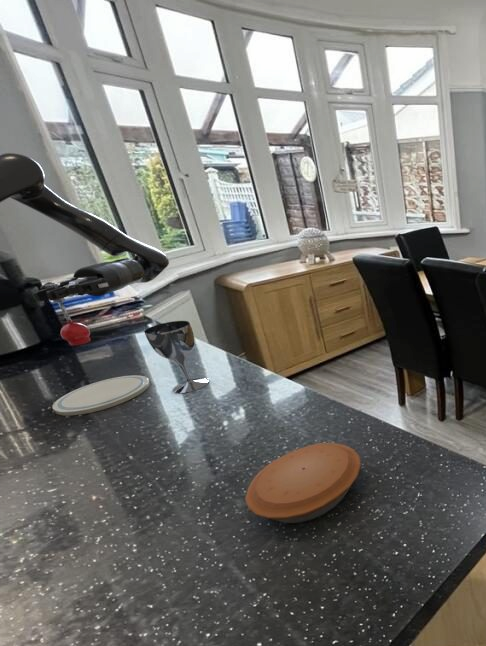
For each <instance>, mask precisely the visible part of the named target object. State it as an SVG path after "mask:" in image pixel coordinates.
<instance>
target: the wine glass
mask: <svg viewBox="0 0 486 646" xmlns="http://www.w3.org/2000/svg"><path fill="white" fill-rule="evenodd" d="M193 331H194V330H193V328H192V326H191V323H190V322H189V321H187V320H174V321H173V320H172V321H168V322H163V323H160V324H155V325H152V326H150V327H147V328H146V329H145V330H144V331H143V333H144V335H145V338H146V340H147V341H148V344H149V345H150V346H151V348H152V349H153V350H154V352H155V353H156V354H157V355H159V356H160V357H162V358H164V359H166V360H169V361H171V362H174V363H175V364H176V365H178V366H179V368H180V369H181V371H182V373H183V374H184V377H185V379H186V380H185V381H182V382H181V383H179V384H177V385H176V386H174V387H173V388H172V392H173V393H174V394H186V393H191V392H194V391H197V390H200V389H202V388H204V387H206V386H207V385H208V384H209V383H210V382H209V380H210V379H209V380H207V379H208V378H207V379H206V377H197V378H191V376H190V373H189V369H188V365H187V363H188V359H189V357H190V355H191V353H192V351H193V350H194V348H195V336H194V335H195V334H194V332H193ZM208 382H209V383H208Z"/></svg>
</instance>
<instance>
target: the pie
mask: <svg viewBox="0 0 486 646" xmlns="http://www.w3.org/2000/svg"><path fill="white" fill-rule="evenodd" d="M361 466H362V463H361V457H360V455H359V454H358V452H357V451H356V450H355V449H353V448H351V447H350V446H348V445H345V444H340V443H336V442H319V443H314V444H311V445H306V446H303V447H301V448H298V449H294V450H291V451H289V452H287V453H286V454H283V455H282V456H280V457H278V458H275V459H274V460H273V461H271V462H270V463H269V464H267V465H265V466H264V467H263V468H262V469H261V470H260V471H259V472H258V473H257V474H256V475H255V476H254V477H253V479H252V481H251V483H250V484H249V486H248V488H247V490H246V491H247V492H246V494H245V498H244V500H245V503H246V506H247V509H249V510H250V511H251V512H252V513H253V514H255V515H256V516H258V517H262V518H266V519H271V520H273V521H275V522H279V523H283V524H300V523H305V522H309V521H312V520H314V519H317V518H319V517H321V516H323V515H325V514H326V513H328V512H330V511H331V510H333V509H334V508H335V507H337V505H339V504H340V502H342V501H343V499H344V498H345V497H346V495H347V494H348V492H349V490H350V488H351V486H352V485H353V483H354V482H355V480H357V478H358V475H359V473H360V469H361Z"/></svg>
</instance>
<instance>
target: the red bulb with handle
mask: <svg viewBox="0 0 486 646" xmlns="http://www.w3.org/2000/svg"><path fill="white" fill-rule="evenodd" d="M45 286H46V288H47V290H48V291H50V290H53V289H57V288H59V287H58V285H57V284H49V285H45ZM65 301H66V299H65V297H64V298H61V299H58V300H55V301H53V303H57V305H58V306H59V308H60V310H61V312H62V313H63V316H64V317H65V319H66V321H67V324H65V325H64V326H63V327H61V329H60V336H61V338H62V339H63V340H65V341H66V342H68V344H69V346H72V347H74V346H80V345H84V344H87V343H90V342H91V341H92V340H91V338H90V336H91V330H90V328H89V327H88V326H87V325H85V324H84V323H80V322H73V320H72V318H71V316H70V314H69V312H68V310H67V308H66V306H65V304H64V302H65Z"/></svg>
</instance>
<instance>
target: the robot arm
mask: <svg viewBox="0 0 486 646" xmlns="http://www.w3.org/2000/svg"><path fill="white" fill-rule="evenodd" d="M45 183H46V176H45V172H44V170H43V168H42V167H41V165H40V164H39V163H38V162H37V161H36V160H34V158H33V159H32V158H31V157H29V156H27V155H24V154H20V153H15V152H2V153H0V204H1V203H2V202H4V201H6V200H9V199H12V200H13V201H16V202H18V203H20V204H22V205H24V206H26V207H28V208H29V209H32V210H34V211H36V212H38V213H39V214H42V215H44V216H45V217H48V218H49V219H51V220H53V221H55V222H57V223H58V224H60V225H62V226H64V227H65V228H67V229H69V230H70V231H72V232H73V233H75V234H77V235H78V236H80V237H82V238H83V239H85V240H86V241H88V242H89V243H91V244H92V245H94V246H95V247H97V248H99V250H101V251H103V252H105V254H108V255H110V256H112V257H119V256H122V255H124V254H125V253H131V254H134V255H135V256H134V257H133V258H127V257H125V258H118V259H115V260H111V261H103V262H100V263H96V264H92V265H87V266H84V267H80V268H78V269H76V271H74V273H73V276H72V277H67V278H65V279H64V280H60V281H56V282H53V281H47V282H45V283H43V284H42V285H41V286H40V290H37V291H36V290H35V291H34V292H33V296H34V298H35V300H36V301H37V302H46V301H48V300H49V301H52V302H54V301H55V300H58V299H61V298H64V299H65V298H69V297H70V298H73V297H75V296H76V297H78V296H84V295H88V296H92V297H103V296H104V295H108V294H111V293H113V292H117V291H119V290H122V289H124V288H125V287H127V286H128V287H129V286H131V285H133V284H143V283H149V282H151V281H153V280H155V279H156V278H158V276H159V275H160V274H161V273H162V272H164V270H166V268H167V267H168V266H169V265H170V260H169V258H168V256H167V255H166V254H165V253H164V252H162V251H161V250H159V249H158V248H156V247H153V246H151V245H149V244H146V243H144V242H141V241H140V240H137V239H134V238H132V237H130V236H129V235H127V234H125V233H124V232H122V231H121V230H120V229H118V228H117V227H115V226H113V225H112V224H110V223H109V222H108V221H106V220H105V219H102V218H101V217H99V216H96V215H94V214H93V213H91V212H87V211H85V210H83V209H81V208H79V207H76V206H75V205H73V204H71V203H69V202H68V201H66V200H65V199H63V198H62V197H60V196H59V195H58V194H57V193H55V192H54V191H52V189H50V188H49V187H48V186H46V184H45ZM49 284H57V285H58V287H59V288H57V289H53V290H50V291H48V290H47V288H46V286H45V285H49Z"/></svg>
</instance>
